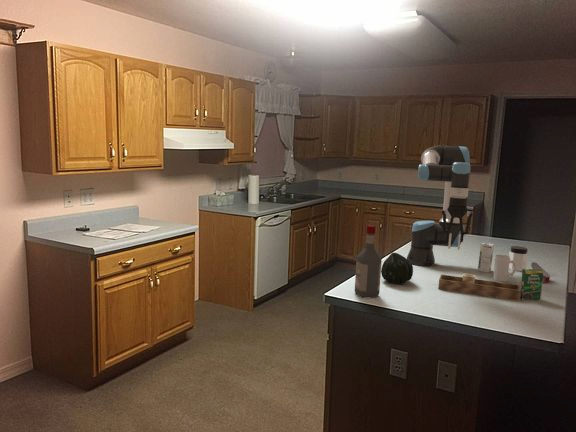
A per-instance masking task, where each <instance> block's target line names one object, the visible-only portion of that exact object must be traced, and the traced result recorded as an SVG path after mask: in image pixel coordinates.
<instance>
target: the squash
mask: <svg viewBox="0 0 576 432" xmlns="http://www.w3.org/2000/svg"><path fill="white" fill-rule="evenodd" d="M413 274H414V266H413V264H412V263H411V262H410V261H409V260H408V259H407V257H405V256H403V255H402V254H400V253H397V252H391V253H390V255H388V257H386V259H385V260H384V261H383V263H382V264H381V278H382V279H383V280H385V281H386V282H388V283H389V284H390V283H391V284H393V283H394V284H395V285H398V284H400V285H405V284H406V282H409V281H411V280H412V277H413Z"/></svg>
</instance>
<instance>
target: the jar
mask: <svg viewBox="0 0 576 432" xmlns="http://www.w3.org/2000/svg"><path fill="white" fill-rule="evenodd" d="M528 255H529V253H528V247H525V246H519V245H513V246H510V251H509V253H508V256H510V260H511V261H512V260H515V263H516V271H515V272H522V271H523V269H527V264H528ZM508 270H511V271H513V270H514V265H513V264H512V263H509V269H508Z"/></svg>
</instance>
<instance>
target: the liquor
mask: <svg viewBox="0 0 576 432" xmlns="http://www.w3.org/2000/svg"><path fill="white" fill-rule="evenodd" d="M376 227H377V226H376V225H374V224H373V225H372V224H368V225H366V238H365V245H364V248H363V249H362V250H361V251H360V252H359V253H358V254H357V255H356V259H355V260H356V263H355V278H354V279H355V280H354V293H355V294H356V295H357V294H358V295H357V296H358V297H360V296H362V297H361V298H364V297H372V298H377V297H378V296H379V295H380V289H381V278H382V274H381V269H382V257H381V255H380V254H379V252H378V251H377V250H376V247H375V237H376V236H375V235H376ZM376 296H377V297H376Z"/></svg>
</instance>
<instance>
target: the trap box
mask: <svg viewBox="0 0 576 432" xmlns="http://www.w3.org/2000/svg"><path fill="white" fill-rule="evenodd" d="M462 280H463V276H454V275H449V274H442V273H441V274H440V276H439V279H438V288H437V289H438V290H441V289H444V290H443V291H448V290H450V292H455V291H457V293H462V292H464V293H463V294H469V293H470V295H476V294H477V296H483V297H489V296H491V298H496V297H497V299H504V300H509V301H510V300H511V301H517V302H518V301H519V302H521V298H520V296H521V284H516V283H508V282H507V283H506V282H502V281H495V280H492V281H491V280H485V279H478V278H475V281H474V284H472V283H464V282H462Z"/></svg>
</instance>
